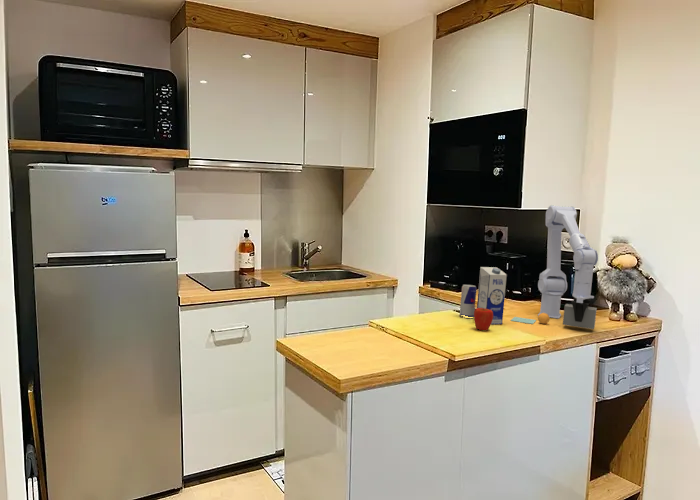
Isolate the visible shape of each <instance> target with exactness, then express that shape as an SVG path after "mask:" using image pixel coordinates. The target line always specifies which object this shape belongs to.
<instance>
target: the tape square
mask: <svg viewBox="0 0 700 500" xmlns="http://www.w3.org/2000/svg"><path fill="white" fill-rule="evenodd" d="M510 321H511V322H517V323H523V324H527V325H528V324H529V325H534V324H535V323H536V321H537V320H536V319H533V318H532V319H531V318H525V317H518V316H513V317H512V318H511V319H510Z"/></svg>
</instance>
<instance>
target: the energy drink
mask: <svg viewBox="0 0 700 500" xmlns="http://www.w3.org/2000/svg"><path fill="white" fill-rule="evenodd" d="M476 300H477V286H476V285H473V284H462V286H461V294H460V306H459V316H460V315H465V316H468V317H474V311H475V309H476Z"/></svg>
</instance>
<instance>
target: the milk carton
mask: <svg viewBox="0 0 700 500" xmlns="http://www.w3.org/2000/svg"><path fill="white" fill-rule="evenodd" d="M479 269H480V270H479V281H478V282H479V283H478V291H477V303H476V309H477V308H484V309H489V310H492V311H493V320H492V323H491V325H503V319H504V307H505V299H506V298H505V296H506V288H507V287H506V286H507V277H508V274H507V273H505V272H504V271H503V270H501V269H500V268H498V267H496V266H495V267H494V266H493V267H492V266H491V267H489V266H480V268H479Z"/></svg>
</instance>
